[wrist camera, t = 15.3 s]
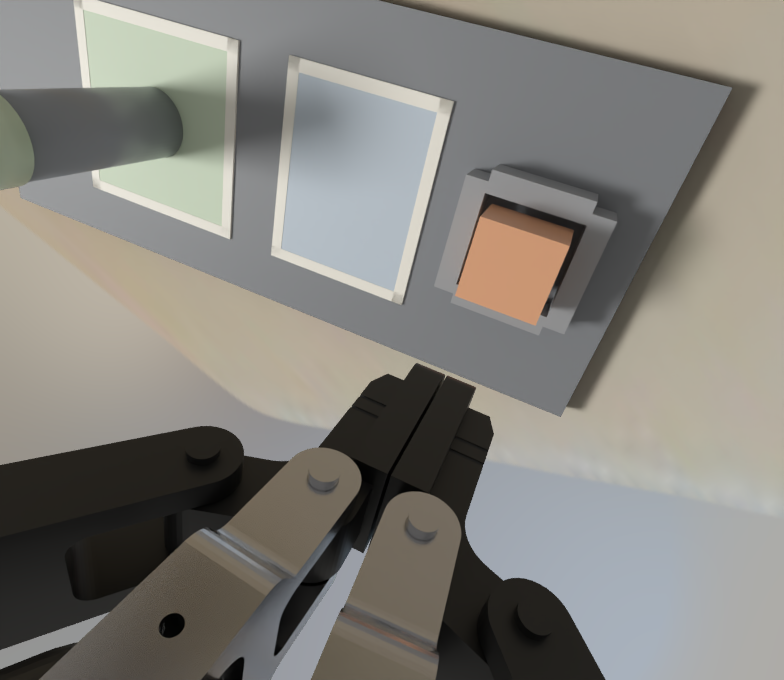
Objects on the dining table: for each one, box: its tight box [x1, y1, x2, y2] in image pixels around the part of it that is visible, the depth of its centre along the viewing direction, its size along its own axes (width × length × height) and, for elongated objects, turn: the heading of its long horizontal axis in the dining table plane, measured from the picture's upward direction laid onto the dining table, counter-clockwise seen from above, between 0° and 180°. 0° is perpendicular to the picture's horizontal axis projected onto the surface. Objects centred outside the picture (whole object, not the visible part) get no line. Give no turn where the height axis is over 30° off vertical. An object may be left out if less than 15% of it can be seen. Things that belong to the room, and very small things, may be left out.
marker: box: [0, 86, 183, 190], centre depth 23 cm, size 4×4×11 cm
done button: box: [455, 204, 574, 326], centre depth 21 cm, size 4×4×2 cm
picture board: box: [0, 0, 732, 417], centre depth 26 cm, size 38×16×3 cm, turn 77°
